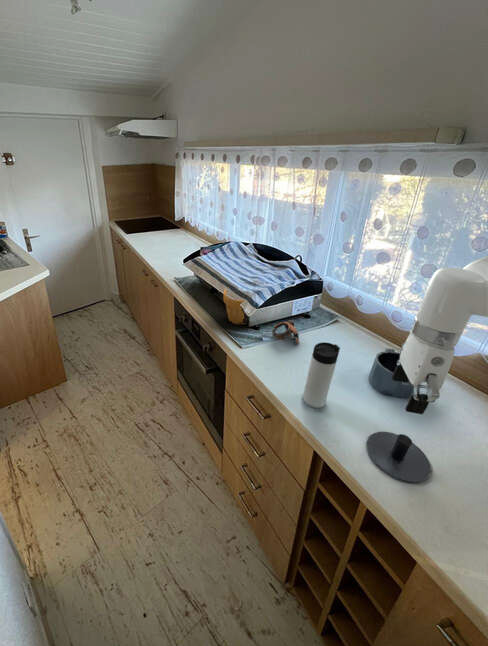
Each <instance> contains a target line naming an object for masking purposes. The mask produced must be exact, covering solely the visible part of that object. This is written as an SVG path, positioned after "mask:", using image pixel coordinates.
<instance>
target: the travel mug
mask: <svg viewBox="0 0 488 646" xmlns="http://www.w3.org/2000/svg"><path fill="white" fill-rule="evenodd" d="M340 350H341V348H340V346H338V344H333V343H332V342H318V343H316V344H315V345H314V346H313V350H312V355H311V359H310V364H309V368H308V371H307V375H306V382H305V385H304V390H303V395H302V401H303V403H304V404H305V405H306V406H308V408H309V407H310V408H312V409H317V410H319V409H323V408H324V407H325V406H326V401H327V399H328V394H329V390H330V386H331V383H332V380H333V376H334V373H335V369H336V366H337V362H338V357H339V353H340Z"/></svg>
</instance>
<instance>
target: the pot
mask: <svg viewBox="0 0 488 646" xmlns="http://www.w3.org/2000/svg"><path fill="white" fill-rule="evenodd" d="M399 353H400V352H397V351H395V349H394V348H387V347H385V349H384V351H380V352H379V353H376V355H375V358H374V361H373V363H372V366H371V369H370V371H369V374H368V382H369V384H370V386H371V387H372V388H373V389H374V390H375V391H376V392H378V393H380V394H382V395H384V396H386V397H390V398H391V397H392V398H397V399H401V400H402V399H403V400H407V399H408V400H409V399H410V397H411V396H414V386H413V385H412V384H411V382H410V381H409V380H408V382H407V383H405V382H399V381H394V380H392V376H393V373H394V371H395V368H396V366H399V365H397V361H398V360H399V359H400V355H399Z"/></svg>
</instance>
